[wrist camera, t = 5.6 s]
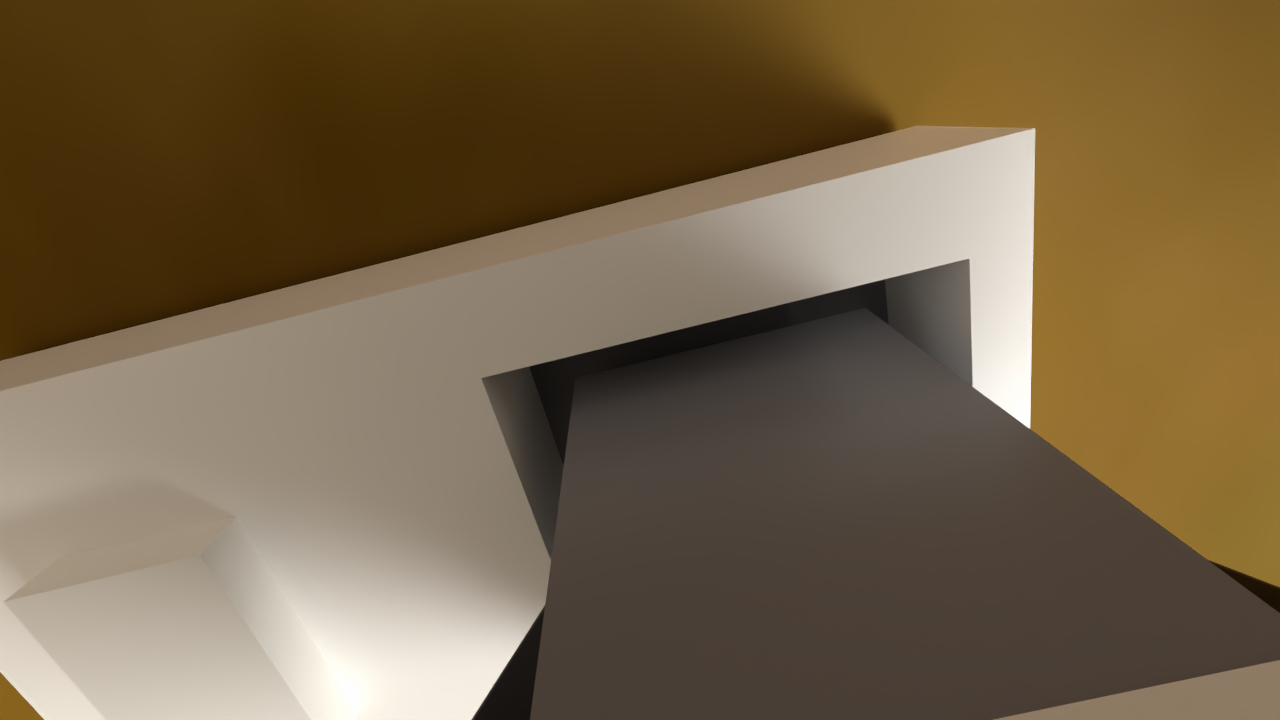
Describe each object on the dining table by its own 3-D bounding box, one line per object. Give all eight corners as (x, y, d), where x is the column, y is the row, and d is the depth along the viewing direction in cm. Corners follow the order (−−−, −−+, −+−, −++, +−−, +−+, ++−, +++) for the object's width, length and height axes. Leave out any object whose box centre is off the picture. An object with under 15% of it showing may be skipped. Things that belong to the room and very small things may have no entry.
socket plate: (916, 125, 8) (1087, 129, 5) (946, 669, 12) (1052, 840, 9) (1, 361, 9) (-301, 480, 6) (320, 803, 13) (236, 1003, 10)
